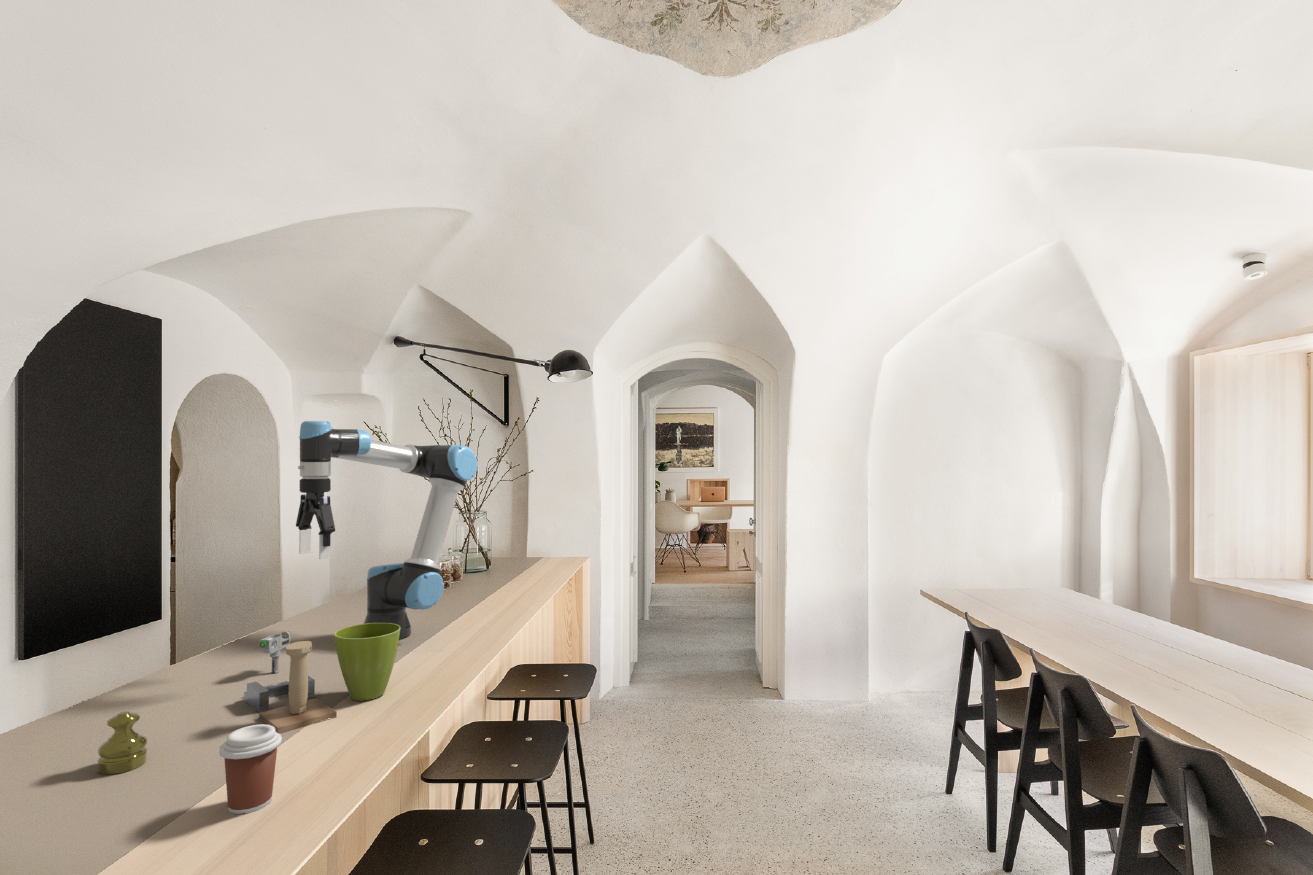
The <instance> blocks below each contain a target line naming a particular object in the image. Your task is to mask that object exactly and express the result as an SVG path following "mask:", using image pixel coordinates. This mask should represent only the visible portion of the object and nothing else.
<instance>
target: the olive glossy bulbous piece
mask: <svg viewBox="0 0 1313 875" xmlns="http://www.w3.org/2000/svg"><path fill="white" fill-rule="evenodd" d="M140 719H141V715H140V714H139V713H136V712H131V711H127V710H126V711H122V712H119V713H117V714H116V715H114V716H112V717H111V718H109V719H108V720H107V721H106V726H108V727H110V728H112V729H113V730H114V732H112V735H111V736H109V737H108V738H107V739H106V740H105V741H104V742H101V744H100V745H99V747H97V753H98V756H99V757H98V759H97V772H98V773H99V774H101V775H116V774H122V773H126V772H129V771H133V770H135V769H138V768H140V767H141V766H142V765H144V764H145V763H146V762H147V760H148V759H147V758H148V756H147V755H148V748H147V747H146V746H147V744H148V737H147V736H146V735H145V734H142V733H139V732H138V731H136V730H135V729H133V727H134V725H135V723H137V722H138V721H139V720H140Z"/></svg>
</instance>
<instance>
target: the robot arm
mask: <svg viewBox="0 0 1313 875" xmlns="http://www.w3.org/2000/svg"><path fill="white" fill-rule="evenodd" d="M298 438H299V465H298V466H297V469H298V470H299V477H301V479H299V493H303V494H300V502H299V507H298V513H297V517H296V522H295V527H296V528H298V531H299V533H298V535H299V537H298V540H299V541H298V544H299V546H298V547H299V548H298V552H299V554H298V555H304V554H310V553H311V551H312V550H311V546H312V545H311V543H312V542H311V541H312V540H311V538H312V536H311V535H312V532H311V531H312V530H311V529H312V525H311V523H312V521H313V519H314V516H315V519H316V522H317V524H318V528H319V531H318V537H319V539H318V544H319V545H318V548H319V550H318V559H319V560H326V559H331V558H332V534H333V533H335V532H336V526H335V521H334V515H333V511H332V505H331V496H326V495H325V493H328V492H331V491H332V490H331V486H332V485H331V484H332V482H331V478H329V477H330V476H332V461H331V459H332V458H335V459H341V460H346V461H353V462H358V463H363V464H370V465H375V466H381V467H388V468H393V469H399V471H400V472H401V473H405V474H409V475H410V474H411V475H413V476H414V475H415V476H420V477H422V478H426V479H428V481H429V483H430V484H431V487H430V488H431V489H430V491H429V495H428V498H427V502H426V505H425V509H424V512H423V514H422V515H423V516H422V519H421V521H420V525H419V527H418V528H419V529H418V531H417V536H416V538H415V541H414V546H413V549H412V552H411V555H410V557H409V558H408V559H406V560H404V561H403V562H397V563H396V562H395V563H387V564H381V565H375V566H372V567H370V568H369V569H368V570H367V577H366V583H367V584H366V585H367V586H366V590H367V592H366V597H367V598H366V603H367V606H366V608H367V609H366V616H365V619H364V621H363V624H367V623H392V624H397V625H399V626H400V635H399V640H401V639H405V638H408V637H410V635H411V634H412V625H411V622H410V620H409V616H408V613H407V610H406V609H407V608H408V609H411V610H415V611H416V610H421V611H422V610H428V609H430V608H432V607H433V606H434V605H436V604H437V603H438V602H439V601H440V599H441V598H442V596H443V594H444V589H445V582H444V579H443V577H442V576H441V572H442V568H441V566H440V564H439V561H440V559H441V558H440V557H441V554H442V551H443V547H444V543H445V539H446V536H447V533H448V530H449V525H450V522H451V518H452V515H453V511H454V508H455V505H456V501H457V498H458V495H459V492H461V491H462V490H464V489H465V486H466V482H468V481H469V480H471V479H472V478H474V477H475V475H476V474H477V470H478V458H477V457H476V455H475V453H474V451H473V450H472V449H471V448H470V447H468V446H466V445H461V444H438V445H437V444H436V445H435V444H434V445H432V444H431V445H416V444H415V445H414V444H405V445H404V446H403V445H397V444H395V443H394V444H393V443H389V442H383V441H378V440H374V439H372V437H371V435H370V433H369V432H368V431H367V430H364V429H357V428H356V429H355V428H354V429H353V428H350V429H347V428H346V429H345V428H342V429H341V428H338V429H337V428H332V424H331V422H329V421H326V420H325V421H324V420H321V421H320V420H306V421H303V422H301V424H300V429H299V437H298Z"/></svg>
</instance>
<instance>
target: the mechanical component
mask: <svg viewBox="0 0 1313 875" xmlns="http://www.w3.org/2000/svg"><path fill="white" fill-rule="evenodd" d="M289 644H291V632H290V631H288V630H287V631H283V632H280V633H279V634H278V633H276V634H275V633H274V634H270V635H269V636H266V637H264V638H262V639H259V651H260V653H262V654H269V657H270V658H271V674H273V673H274V674H278V673H279V657H280V656H281V655H282V654H281V650H282V649H286V646H288V645H289Z"/></svg>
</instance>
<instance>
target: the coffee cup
mask: <svg viewBox="0 0 1313 875" xmlns="http://www.w3.org/2000/svg"><path fill="white" fill-rule="evenodd" d="M282 742H283V737H282V735H281V733H279V734H278V733H277V732H275V728H274V727H273V726H271V725H267V724H266V723H264V724H253V725H248V726H244V727H241V728H238V729H236V730H233V731H232V732H230V733H229V735H228V736H227V737H226V740H225V741H224V742H223V743H222V745H221V746H220V747H219V756H220V757H222V758H224V772H225V782H226V793H227V794H226V798H227V811H228V812H229V813H230V812H231V814H236V815H243V813H245V814H249V812H250V813H253V812H257V811H258V809H259V810H262V809H264V808H265V807H267V806H268V805H269V804H270V803H271V802H272V801H273V790H274V781H275V773H276V764H277V762H276V761H277V754H278V748H279V747H280V746H281V744H282ZM270 801H271V802H270ZM267 804H268V805H267ZM266 805H267V806H266ZM263 807H264V808H263ZM261 808H262V809H261Z"/></svg>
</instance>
